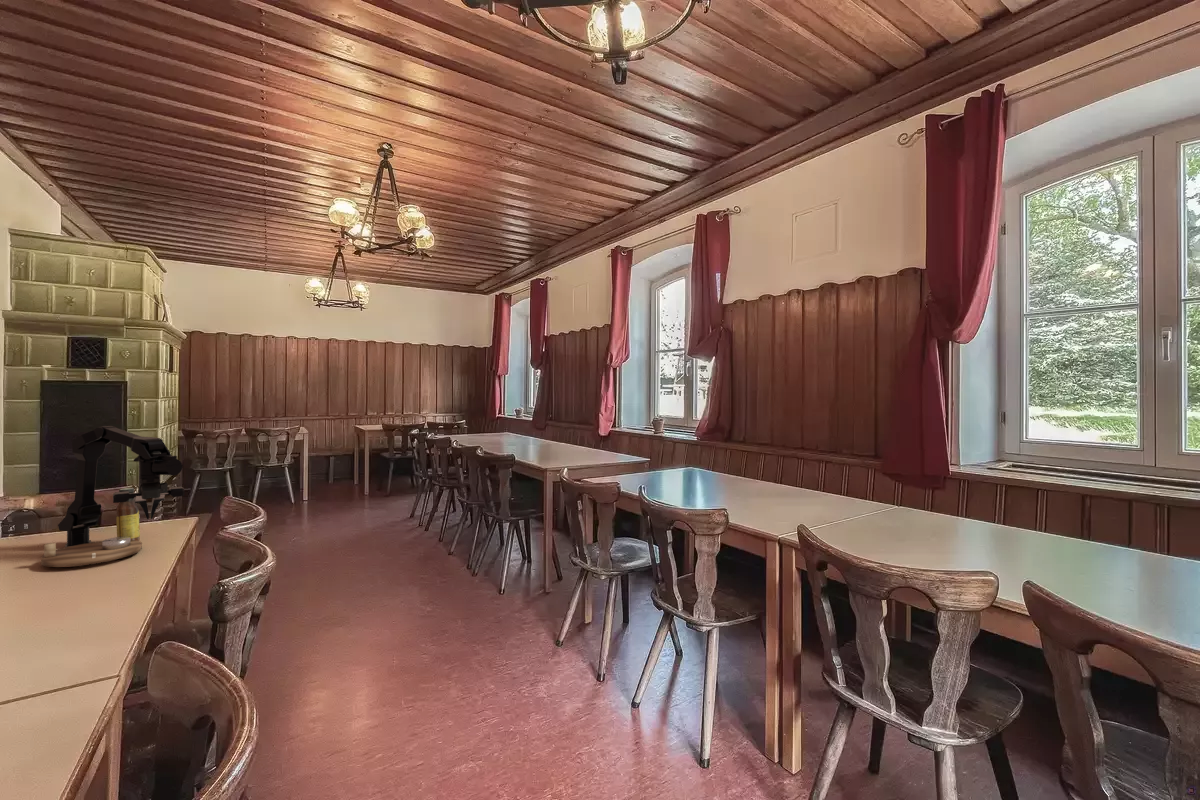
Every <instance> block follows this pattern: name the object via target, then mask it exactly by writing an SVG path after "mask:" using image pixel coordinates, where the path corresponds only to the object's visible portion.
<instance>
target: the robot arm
mask: <svg viewBox="0 0 1200 800" xmlns="http://www.w3.org/2000/svg"><path fill="white" fill-rule="evenodd" d="M112 442H113V443H116V444H120V445H122V446H125V447H128V448H129V449H130V451H131V452H132V453H134V454H136V455H137V457H135V458H134V459H133V462H138V492H134V493H130V494H129V492H128V491H125V492H119V491H116V492H114V493H113V494H112V503H113V504H117V503H118V504H119V503H120V502H126V501H128V500H129V499H134V501H135V503H136V504H139V505H140V507H141V508H142V510H143V512H144V514H145V517H146V520H149V519H150V520H152V519H153V518H154V515H155V513H156V510H157V509H158V508H157V507H158V506H159V504H160V503H161V502H162V501H165V499H166V498H165V496H171V497H173V498H176V497H177V498H179V497H184V496H185V495H186V494H185V492H186V491H185V488H184V487H182V486H171V487H168V486H169V485H168V482H161V476H174V477H175V476H177V475H180V473H181V472H182V471H183V463H182V462H181V460H180V459H178V456H177V455H172V454H171V451H170V450H169V449H168V448H167V447H168V446H167V445H166V444H165V442H164V440H163V439H162V438H160V437H154V436H142V435H138V434H135V433H132V432H130V431H126V430H124V429H121V428H118V427H116V426H114V425H105V426H98V427H96V428H95V429H93V430H91V431H88V432H86V433H83V434H81V435H78V436H76V437H75V438H72V442H71V447H72V454H73V456H75V458H76V459H77V466H76V467H77V468H76V469H77V470H76V478H75V479H76V480H75V489H74V490H75V492H74V493H75V494H74V500H73V501H72V502H71V504H70V505H69V506H67V509H66V514H65V517H63V519H62V520H60V521H59V523H58V525H57V527H58V531H61V532H66V543H65V545H64V548H66V547H70V546H75V545H80V544H86V543H92V540H91V539H90V527H94V526H97V525H98V522H99V518H100V516H102V513H101V512H102V511H101V510H102V504H101V503H98V502H97V501H96V500H95V494H96V481H97V480H96V479H97V469H98V468H97V467H98V460H99V459H100V457H102V455H103V454H104V453H105V450H106V446H107V445H109V444H110V443H112ZM148 499H151V507H150V508H151V509H150V514H149V508H148V503H147V500H148ZM149 517H150V518H149Z"/></svg>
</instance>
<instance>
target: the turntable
mask: <svg viewBox="0 0 1200 800" xmlns="http://www.w3.org/2000/svg"><path fill="white" fill-rule="evenodd" d="M102 541H103V540H102ZM102 541H101V540H100V541H94V542H92V541H91V543H86V544H80V545H75V546H70V547H66V548H65V547H63V548H59V549H57V543H56V542H47V543H45V544H43V555H42V556H40V565H41V566H44V567H49V568H67V567H78V566H79V567H81V566H88V565H89V564H91V565H95V564H96V563H97V564H100V563H101V562H102V563H105V562H110V561H115V560H120V559H124V558H126V557H130V556H132V555H135V554H137V553H139V552H140V551H142V550H143V542H141V541H140V540H139V541H136V540H130V546H128V547H125V548H121V549H114V550H103V549H102ZM89 566H90V565H89Z"/></svg>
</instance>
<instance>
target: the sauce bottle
mask: <svg viewBox="0 0 1200 800" xmlns="http://www.w3.org/2000/svg"><path fill="white" fill-rule="evenodd" d="M125 491H128V492H129V494H130V493H135V488H134V487H125V488H121V489H120V488H119V491H118V492H125ZM115 510H116V511H115V512H116V517H115V518H116V523H115V525H116V537H130V540H136V541H140V537H141V531H140V529H141V528H140V509H139V507H138V503H135V501H134V499H129V500H128V501H126V502H120V503H118V505H117V506H116V509H115Z"/></svg>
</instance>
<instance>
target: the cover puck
mask: <svg viewBox="0 0 1200 800" xmlns="http://www.w3.org/2000/svg"><path fill="white" fill-rule="evenodd" d="M128 546H130V537H117V536H115V537H111V538H107V539H104V540H102V549H103V550H114V549H121V548H125V547H128Z"/></svg>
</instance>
